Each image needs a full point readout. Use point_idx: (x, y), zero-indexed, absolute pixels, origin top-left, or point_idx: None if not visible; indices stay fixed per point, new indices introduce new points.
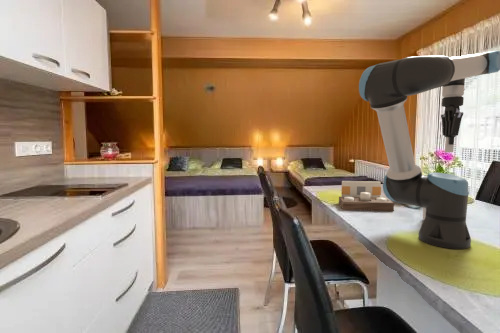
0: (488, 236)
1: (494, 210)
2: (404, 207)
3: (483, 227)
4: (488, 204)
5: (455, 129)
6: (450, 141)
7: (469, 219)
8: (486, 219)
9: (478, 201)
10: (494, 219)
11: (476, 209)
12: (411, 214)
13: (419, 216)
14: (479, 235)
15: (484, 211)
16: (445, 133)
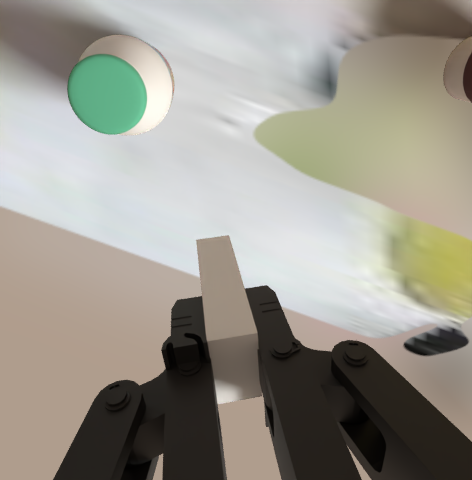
0: (5, 192)
1: (320, 318)
2: (341, 33)
3: (109, 218)
4: (390, 330)
5: None
6: (172, 325)
7: (197, 215)
8: None
9: (427, 320)
10: None
11: (328, 280)
12: (222, 22)
13: (196, 48)
14: (4, 171)
15: (306, 291)
16: (299, 376)
